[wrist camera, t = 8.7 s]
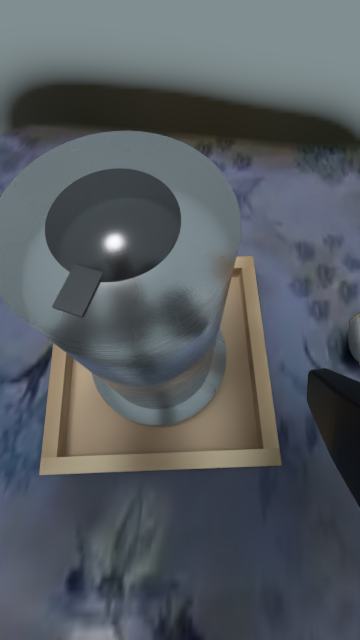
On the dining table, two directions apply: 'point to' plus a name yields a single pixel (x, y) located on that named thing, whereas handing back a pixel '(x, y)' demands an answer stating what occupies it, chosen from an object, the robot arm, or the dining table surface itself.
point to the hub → (126, 266)
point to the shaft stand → (354, 337)
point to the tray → (178, 440)
